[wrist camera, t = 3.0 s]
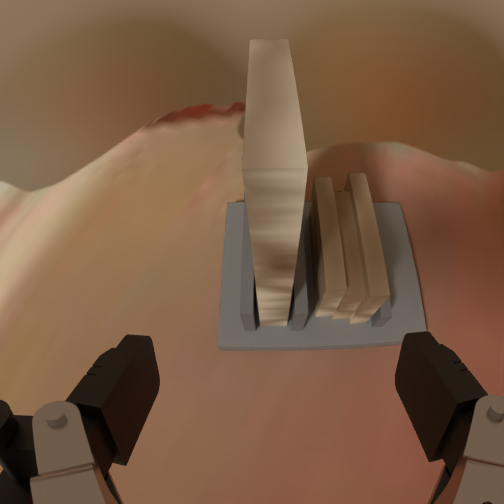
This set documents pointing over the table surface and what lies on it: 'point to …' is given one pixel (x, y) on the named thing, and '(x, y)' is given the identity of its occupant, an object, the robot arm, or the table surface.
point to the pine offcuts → (346, 251)
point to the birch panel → (273, 175)
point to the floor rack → (302, 299)
